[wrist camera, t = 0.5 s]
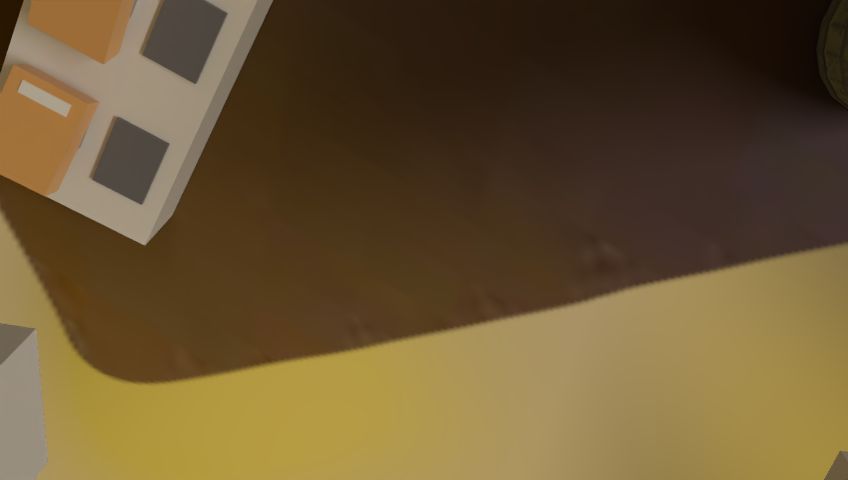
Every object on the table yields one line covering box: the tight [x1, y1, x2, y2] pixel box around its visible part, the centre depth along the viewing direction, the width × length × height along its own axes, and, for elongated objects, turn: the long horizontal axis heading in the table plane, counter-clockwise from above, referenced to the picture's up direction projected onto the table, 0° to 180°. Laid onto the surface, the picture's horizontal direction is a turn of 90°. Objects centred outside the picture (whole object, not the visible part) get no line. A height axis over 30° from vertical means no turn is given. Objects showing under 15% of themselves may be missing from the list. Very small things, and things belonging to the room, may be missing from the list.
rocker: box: [0, 64, 100, 196], centre depth 32 cm, size 5×3×2 cm
